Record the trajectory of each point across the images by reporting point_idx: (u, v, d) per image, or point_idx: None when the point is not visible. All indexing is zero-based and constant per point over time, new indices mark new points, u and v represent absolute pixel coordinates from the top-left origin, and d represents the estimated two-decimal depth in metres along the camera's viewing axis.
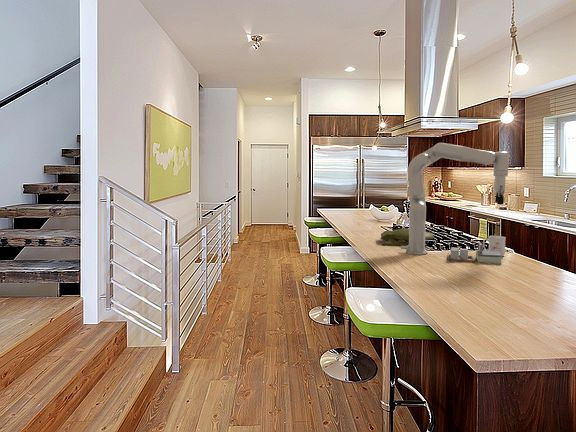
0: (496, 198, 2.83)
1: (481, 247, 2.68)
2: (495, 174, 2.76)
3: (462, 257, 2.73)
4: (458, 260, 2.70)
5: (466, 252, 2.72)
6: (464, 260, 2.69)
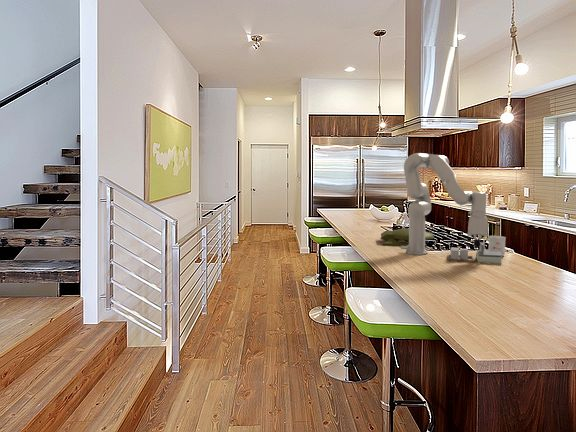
0: (477, 242, 2.71)
1: (482, 247, 2.68)
2: (483, 215, 2.67)
3: (462, 257, 2.73)
4: (458, 260, 2.70)
5: (466, 252, 2.73)
6: (464, 260, 2.69)
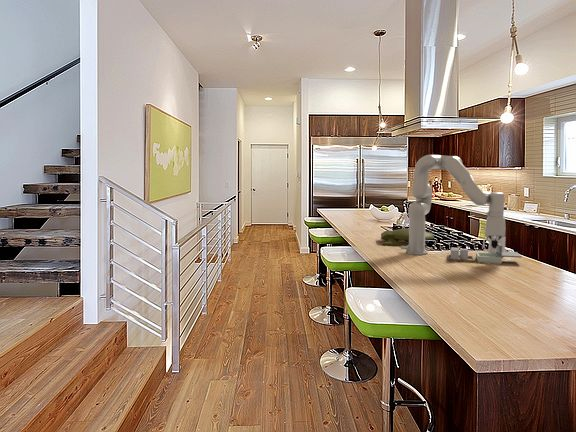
0: None
1: (500, 248, 2.65)
2: (501, 216, 2.65)
3: (462, 257, 2.73)
4: (458, 260, 2.70)
5: (466, 252, 2.72)
6: (464, 260, 2.69)
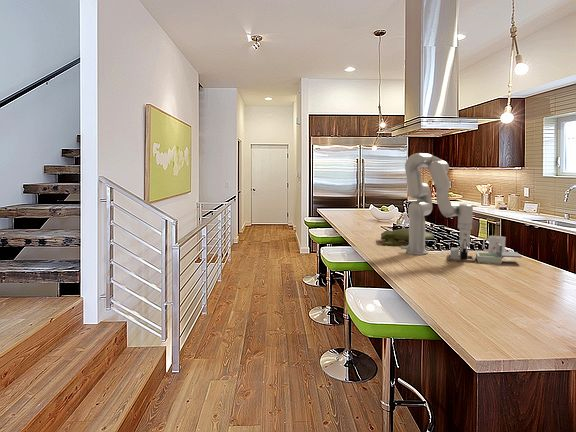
0: None
1: (500, 248, 2.65)
2: None
3: None
4: (458, 260, 2.70)
5: None
6: (464, 260, 2.69)
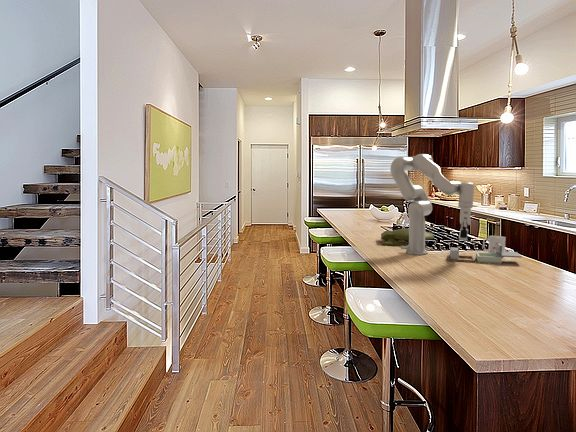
0: None
1: (500, 248, 2.65)
2: None
3: None
4: (458, 260, 2.70)
5: None
6: (464, 260, 2.69)
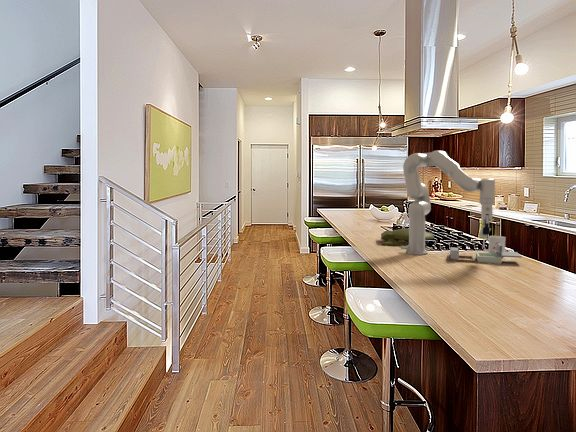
0: None
1: (500, 248, 2.65)
2: None
3: (482, 234, 2.69)
4: (458, 260, 2.70)
5: None
6: (464, 260, 2.69)
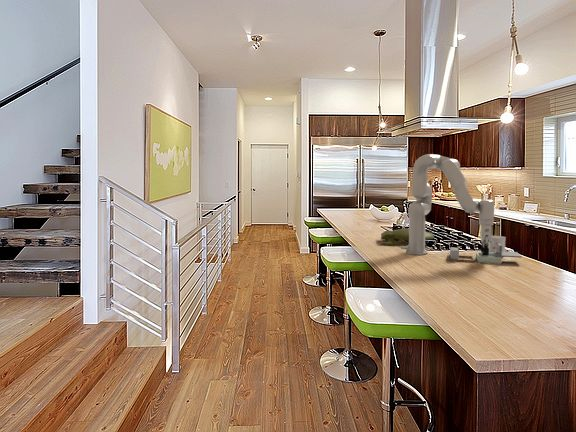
0: None
1: (500, 248, 2.65)
2: None
3: (485, 255, 2.70)
4: (458, 260, 2.70)
5: None
6: (464, 260, 2.69)
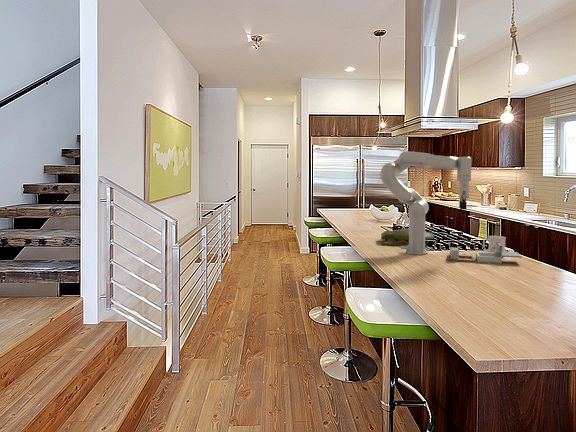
0: None
1: (500, 248, 2.65)
2: None
3: (485, 255, 2.70)
4: (458, 260, 2.70)
5: None
6: (464, 260, 2.69)
